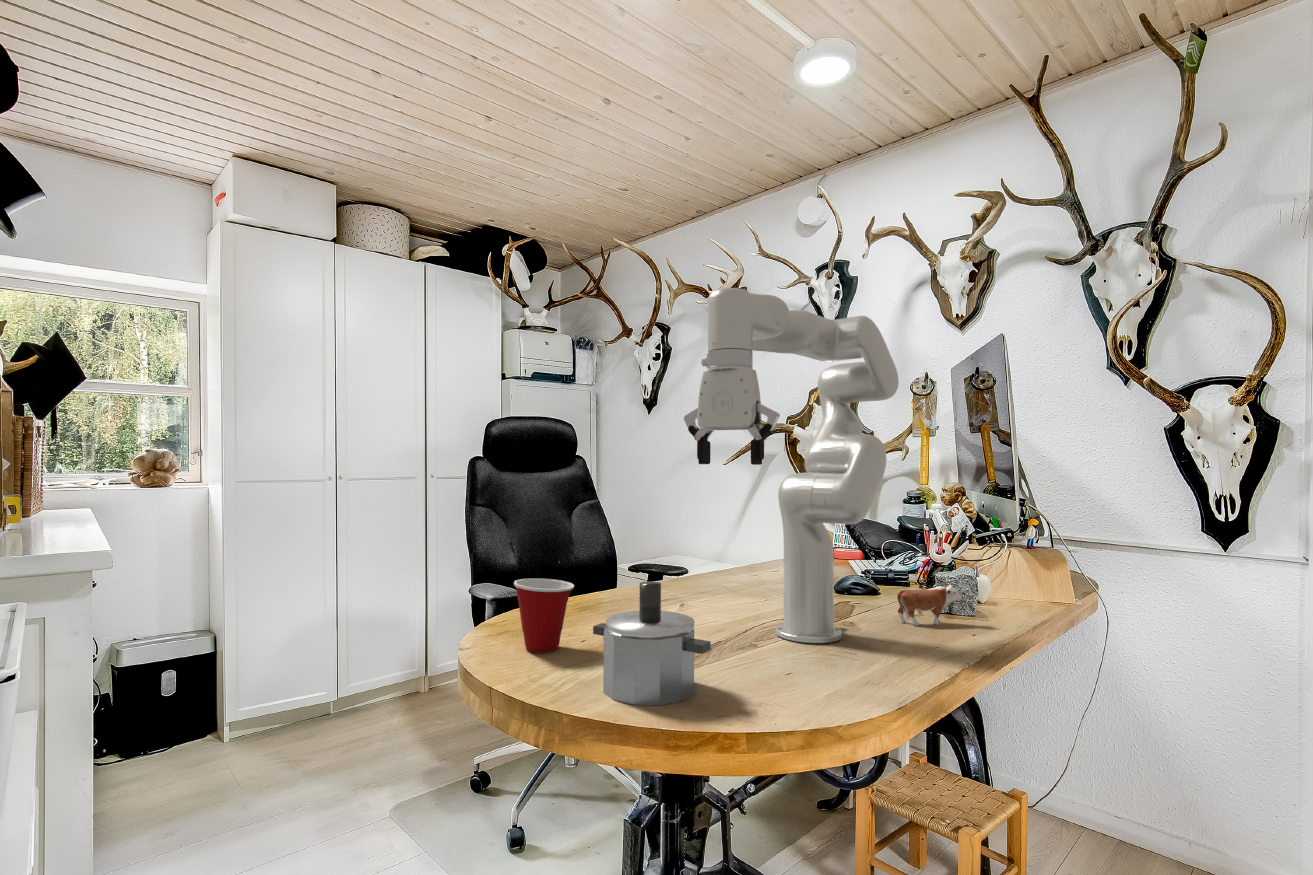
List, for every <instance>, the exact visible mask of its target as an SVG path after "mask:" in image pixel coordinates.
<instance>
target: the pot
mask: <svg viewBox="0 0 1313 875" xmlns="http://www.w3.org/2000/svg"><path fill="white" fill-rule="evenodd" d="M592 627H593V628H592V635H596V636H602V637H603V681H602V682H603V683H602V686H603V687H602V688H603V690H602V691H603V693H604V694H605V695H606V696H608V697H609V698H611V700H613V701H617V702H621V703H624V704H629V705H632V706H665V705H669V704H673V703H674V704H675V703H680V702H683V701H685V700H687V699H688V698H689V697H692V696H693V695H694V694H695V654H701V655H704V654H706V653H708V652H710V651H712V649H711V648H712V647H711V645H712V644H711V643H712V642H711V641H710V640H704V639H698V638H695V629H694V630H693V631H692V632H691V633H689V634H687V635H684V636H680V637H675V638H668V639H634V638H626V637H621V636H617V635H614V634H612V633H609V632H608V631H607V630H606V622H605V623H604V622H601V623H599V624H596V625H593V626H592Z"/></svg>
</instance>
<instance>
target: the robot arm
mask: <svg viewBox="0 0 1313 875" xmlns="http://www.w3.org/2000/svg"><path fill="white" fill-rule="evenodd" d="M753 351H755V352H756V351H757V352H768V353H777V354H788V355H789V354H790V355H791V354H793V355H797V356H801V357H806V358H809V359H812V360H816V361H820V362H826V363H827V362H829V363H830V362H839V361H849V360H856V359H857V360H858V359H862V360H863V361H857V362H856V361H855V362H848V363H847V362H845V363H840V364H839V363H838V364H833V365H831V366H829V367H827V368H825V369H823V370H822V372H821V373H819V376H818V380H817V392H818V397H819V403H820V406H821V412H822V422H821V424H820V426H819V428H818V430H817V432H816V434H815V436H814V437H813V439H812V441H811V443H810V444H809V445H810V446H809V447H808V449H807V451H806V454H805V458H804V470H805V471H806V472H798V473H792V474H790V475H789V476H786V477H785V478H784V479H783V480H782V481H781V483H780V485H779V488H778V493H777V494H778V497H777V499H778V505H779V510H780V515H781V522H782V533H783V535H782V536H783V622H782V623H779V624H778V625H776V626H775V635H777V636H778V637H780V638H782V639H785V640H788V641H790V642H791V641H792V642H797V643H806V644H827V643H834V642H837V641H839V640H842V638H843V631H842V629H841V628H839V627H837V626H835V625H834V624H835V623H834V618H835V611H834V609H835V608H834V604H835V603H834V601H835V600H834V599H835V598H834V597H835V596H834V595H835V594H834V587H835V586H834V580H835V579H834V576H835V575H834V574H835V573H834V554H835V553H834V544H833V540H832V537H831V535H830V533H829V531H828V530H827V528H826V526H825V524H836V525H837V524H838V525H855V524H858V523H861V522H862V521H863V520H864V519H865V518H866V516H867V515H868V513H869V512H870V511H869V510H870V509H871V506H872V505H873V502H874V500H875V497H876V494H877V492H878V489H879V487H880V485H881V483H882V480H883V477H884V474H885V471H886V467H887V451H886V447H885V445H884V443H883V441H881V440H880V438H878V437H877V436H875V435H872V434H867V433H863V424H862V421H861V419H860V418H859V417H858V415H857V414H856V412H855V411H854V410H853V409H852V408H851V406H850V404H849V403H861V402H879V401H881V402H882V401H886V400H888V399H891V398H893V396H895V395H896V393H897V391H898V388H899V382H900V381H899V380H900V379H899V374H898V370H897V367H896V364H895V362H894V360H893V358H892V355H891V353H890V350H889V348H888V346H887V343H886V341H885V339H884V336H883V334H882V332H881V331H880V329H879V327H878V326H877V325H876V323H875V322H874V321H873V320H872V319H871V318H870V317H868V316H866V315H856V316H851V317H844V318H837V319H830V318H829V319H828V318H826V317H823V316H821V315H818V314H816V313H813V312H810V311H807V310H802V309H800V310H799V309H796V310H795V309H794V310H793V309H789V306H788V305H787V303H786V302H785V301H784V300H783V299H782V298H780V297H778V296H775V295H773V294H762V293H760V294H759V293H752V292H751V293H750V292H749V291H748V290H747V289H743V288H739V287H738V288H737V287H726V288H725V287H724V288H719V289H716V290H714V291H712V292H711V293H710V294H709V297H708V302H707V353H706V357H705V358H702V359H701V366H702V367H706V368H707V370H705V371H703V372H702V376H701V381H700V386H699V392H698V394H699V395H698V400H697V401H698V403H697V407H696V408H695V409H693V410H692V411H691V412H688V413H687V414H685V415H684V417H683V420H684V423H685V424H686V427H687V430H688V432H689V433H690V434H691V435H692V437H693V438H694V441H696V452H697V453H696V458H697V460H698V465H709V464H711V442H710V441H709V440H708V439H709V438H710V437H711V435H712V434H713V432H714V431H737V430H738V431H739V430H740V431H741V430H743V431H744V430H746V431H747V432H749V434H750V435H751V436H752V437H753V439H751V441H750V464H751V465H752V466H753V465H754V466H755V465H756V466H758V465H762V464H763V461H764V459H765V441H766V440H768V437H769V436H770V435H771V433H773V431H774V430H775V427H776V425H777V423H778V421H779V419H780V417H781V416H780V413H779V412H777V411H775V410H774V409H771V408H770V407H768V406H766V405H763V404H762V402H761V392H760V386H759V385H760V384H759V379H758V375H757V370H756V369H753V365H754V364H753V363H754V362H753V361H754V360H753V359H754V358H753V356H754V355H753ZM762 415H763V416H766V417H767V420H766V423H765V424H764V425H763V426H762V427H761V423H762ZM696 420H697V424H696ZM697 425H698V426H697ZM824 523H825V524H824Z"/></svg>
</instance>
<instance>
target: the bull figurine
mask: <svg viewBox="0 0 1313 875" xmlns="http://www.w3.org/2000/svg"><path fill="white" fill-rule="evenodd" d="M896 597H897V602H898V605H899V608H898V610H897V613H898V617H899V618H898V619H899V621H900V622H901V623H902V624H906V620H907V621H909V619H911V621H912V624H913V625H915V626H916V627H920V626H921V624H920V622H919V621H918V620H917V618H916V616H915V611H917V613H918V615H922V613H923V612H926V611H930V612H931V613H932V615H933V624H935V625H936V626H940V625H941V620H940V619H939V617H940V614H941V613H942V612H943V611H944V610H945V608H946V607H948V605H949V603H954V602H955V601H961V600H962V598H963V596H961V595H960V593H959V591H958V590H957V589H956V588H955V587H954V586H953V585H951V584H949V585H948V586H942V585H938V586H936V587H932V588H931V587H930V588H928V589H901V590H899V591H898V593H897V596H896ZM905 619H906V620H905Z"/></svg>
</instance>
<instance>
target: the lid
mask: <svg viewBox="0 0 1313 875" xmlns="http://www.w3.org/2000/svg"><path fill="white" fill-rule="evenodd" d="M638 608H639V610H632V611H631V610H630V611H625V612H619V613H616V614H612V615H610V616H608V617H607V618H606V619H605V624H606V630H607V631H608V632H609V633H612V634H614V635H617V636H621V637H626V638H634V639H668V638H675V637H680V636H684V635H687V634H689V633H691V632H692V631H693V630H694V631H695V619H694V618H693V617H691V616H689V615H688V614H684V613H680V612H673V611H667V610H662V583H661V582H660V581H653V580H652V581H641V582H639V607H638Z"/></svg>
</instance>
